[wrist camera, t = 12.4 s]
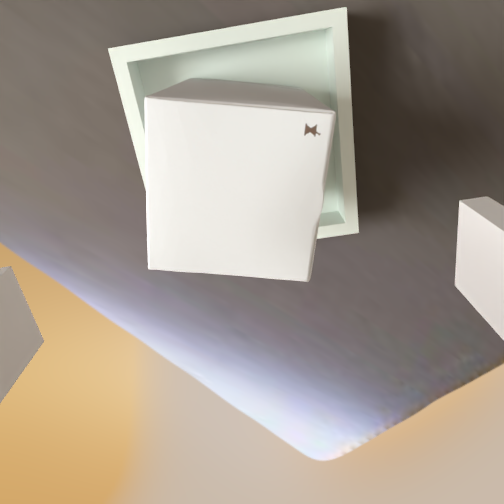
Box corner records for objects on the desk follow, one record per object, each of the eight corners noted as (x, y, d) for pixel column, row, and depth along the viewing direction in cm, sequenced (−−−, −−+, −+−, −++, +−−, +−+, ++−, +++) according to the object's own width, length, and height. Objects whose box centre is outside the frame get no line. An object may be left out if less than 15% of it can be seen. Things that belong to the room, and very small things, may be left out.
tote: (123, 49, 32) (108, 48, 29) (335, 12, 31) (346, 6, 28) (172, 241, 39) (164, 260, 35) (348, 215, 38) (358, 232, 34)
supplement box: (185, 74, 32) (139, 87, 18) (303, 86, 32) (343, 106, 19) (182, 191, 36) (142, 273, 22) (288, 200, 36) (312, 286, 23)
